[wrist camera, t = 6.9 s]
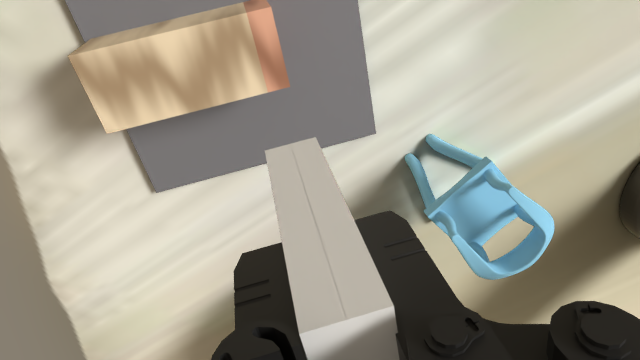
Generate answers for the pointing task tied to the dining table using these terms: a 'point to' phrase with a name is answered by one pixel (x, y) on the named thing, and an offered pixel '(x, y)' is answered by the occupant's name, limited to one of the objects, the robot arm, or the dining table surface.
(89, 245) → the dining table surface
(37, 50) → the dining table surface
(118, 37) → the wood block
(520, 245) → the chair
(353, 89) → the mat
